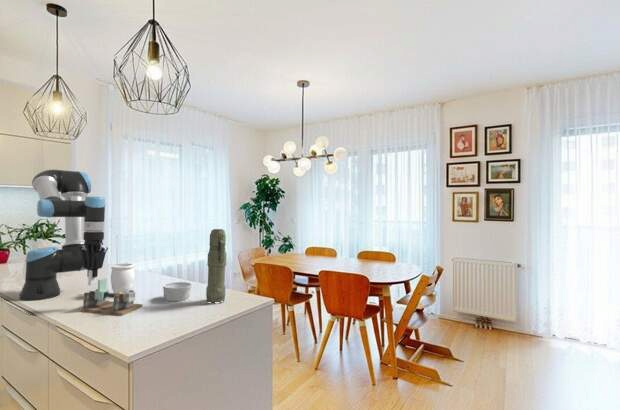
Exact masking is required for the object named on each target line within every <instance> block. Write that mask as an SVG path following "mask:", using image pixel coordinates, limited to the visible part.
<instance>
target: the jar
mask: <svg viewBox="0 0 620 410" xmlns="http://www.w3.org/2000/svg"><path fill="white" fill-rule="evenodd" d="M110 267H111V269H112V270H111V272H110V284H111V290H112V291H113V293H112V294H117V293H118V292H123V293H124V292H129V290H133V286H134V281H135V275H136V274H135V269H134V268H135V267H136V265H135V264H134V263H116V264H113V265H111V266H110Z"/></svg>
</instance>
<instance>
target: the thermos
mask: <svg viewBox="0 0 620 410" xmlns="http://www.w3.org/2000/svg"><path fill="white" fill-rule="evenodd" d="M226 237H227V235H226V231H225V230H224V229H220V228H214V229H211V231H210V234H209V244H208V245H209V250H208V253H207V286H206V291H205V292H206V293H205V294H206V295H205V297H206V301H207V302H211V303H215V302H221V301H224V300H225V301H226V299H225V298H226V285H225V284H226V283H225V281H226V280H225V275H226V266H227V250H226V244H227V243H226V239H227V238H226ZM207 302H206V303H207Z"/></svg>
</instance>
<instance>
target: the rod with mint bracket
mask: <svg viewBox="0 0 620 410" xmlns="http://www.w3.org/2000/svg"><path fill="white" fill-rule="evenodd" d="M97 290H98V288H97V289H95V290H91V291H88V292H84V293H83V299H82V300H83V303H82V305H83V306H82V307H81V308H80V312H81V311H84V312H83V313H90V312H92V314H100V315H101V314H102V315H113V316H120V317H123V316H125V315H127V314H129V313H131V312H134V311H136V310H138V309H141V308H143V304H142V303H134V301H136V291H135V290H133V289H131V290H129V292H124V293H123V292H118V293H117V294H113V293H111V292H109V293H104V297H109V298H113V301H108V300H106V299H104V300H96V299H94V296H95V291H97Z"/></svg>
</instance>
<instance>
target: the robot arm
mask: <svg viewBox="0 0 620 410" xmlns="http://www.w3.org/2000/svg"><path fill="white" fill-rule="evenodd" d="M91 180H92V179H91V177H90V175H89V174H88V173H87V172H83V171H76V170H75V171H74V170H63V169H61V170H60V169H47V170H42V171H41V172H39V173H37V174H36V175H34V177H33V179H32V182H31V186H32V188H33V189H34V191H35V192H37V194H38V197H39V200H37V203H36V213H37V216H38V217H42V218H64V226H65V227H64V228H65V233H64V234H65V237H64V238H65V243H64V244H63V245H62V246H61V248H60V249H58V246H46V247H40V248H34V249H31V250H29V251H28V252H27V253H26V257H25V277H24V279H25V280H24V281H25V282H24V284H23V286H22V288H21V291H20V293H19V300H22V301H38V300H47V299H51V298H54V297H58V296H60V295H61V288H60V285H59V282H58V279H57V274H61V273H70V272H72V273H73V272H81V271H87V279H88V281H87V285H88V286H93V285H96V284H97V277H98V273H99V269H102V268H103V265H104V262H105V258H106V255H107V252H108V250H109V247H106V246H105V245H104V243H103V241H104V240H105V238H104V237H105V232H104V231H105V217H106V216H105V214H106V198H105V197H104V196H90V195H88V194H91V191H92V182H91ZM63 198H64V199H63Z"/></svg>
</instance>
